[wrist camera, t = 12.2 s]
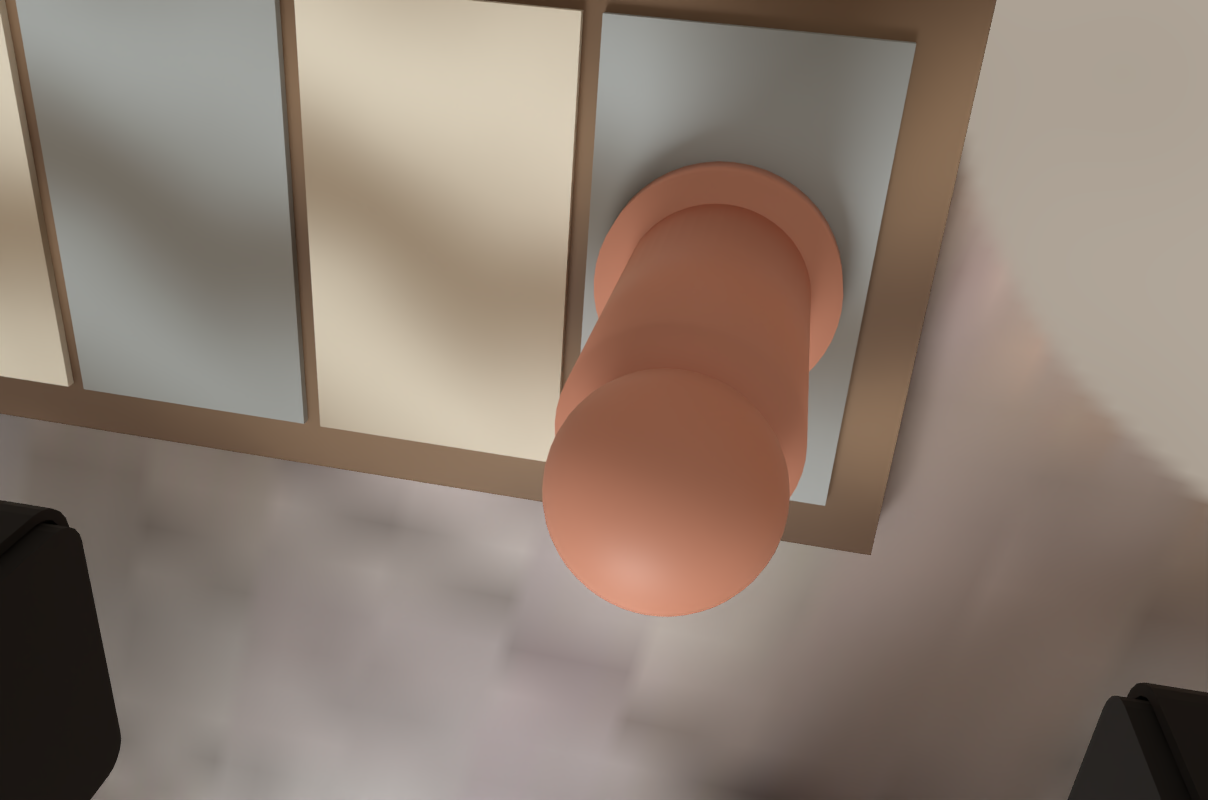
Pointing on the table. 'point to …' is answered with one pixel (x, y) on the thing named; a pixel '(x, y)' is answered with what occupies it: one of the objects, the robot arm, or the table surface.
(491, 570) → the table surface
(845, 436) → the board
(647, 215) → the pawn
